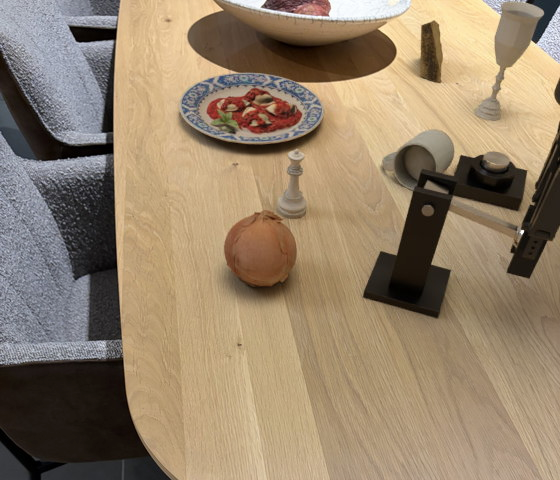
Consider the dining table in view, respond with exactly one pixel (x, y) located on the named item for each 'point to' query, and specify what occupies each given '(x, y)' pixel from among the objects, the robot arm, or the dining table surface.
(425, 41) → the rock
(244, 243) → the onion
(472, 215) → the flush lever
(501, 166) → the push button
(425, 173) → the lever bracket
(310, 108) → the ceramic plate
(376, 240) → the dining table surface
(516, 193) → the push button base
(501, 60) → the chalice
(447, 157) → the ceramic mug
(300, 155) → the chess piece
